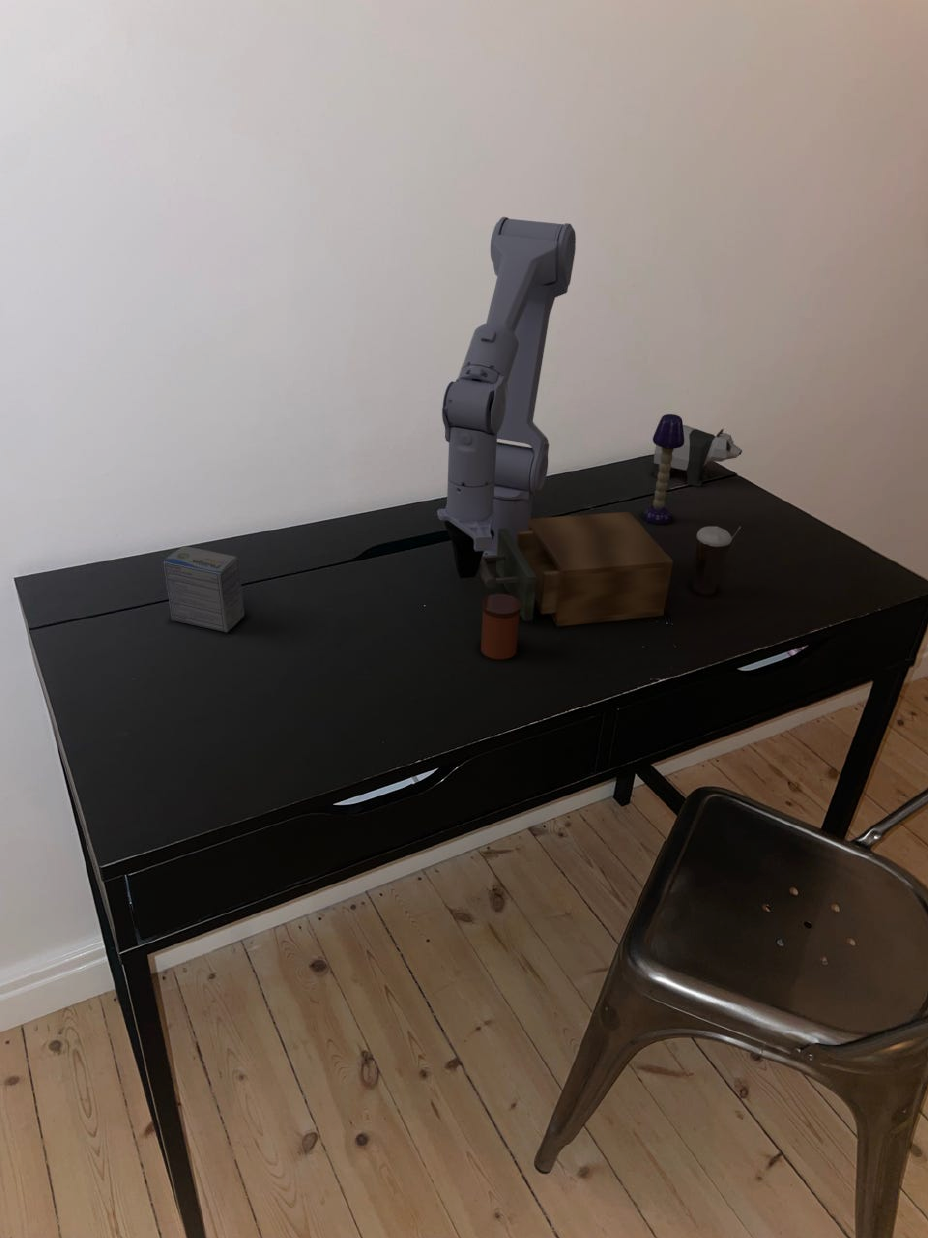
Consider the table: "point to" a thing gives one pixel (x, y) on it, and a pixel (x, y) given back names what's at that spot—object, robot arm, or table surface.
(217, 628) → the medicine box
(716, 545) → the milkshake
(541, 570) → the drawer
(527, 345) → the robot arm
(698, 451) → the giant panda
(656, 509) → the toy lamp
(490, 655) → the spice jar
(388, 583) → the table surface
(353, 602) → the table surface
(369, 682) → the table surface
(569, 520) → the cabinet
